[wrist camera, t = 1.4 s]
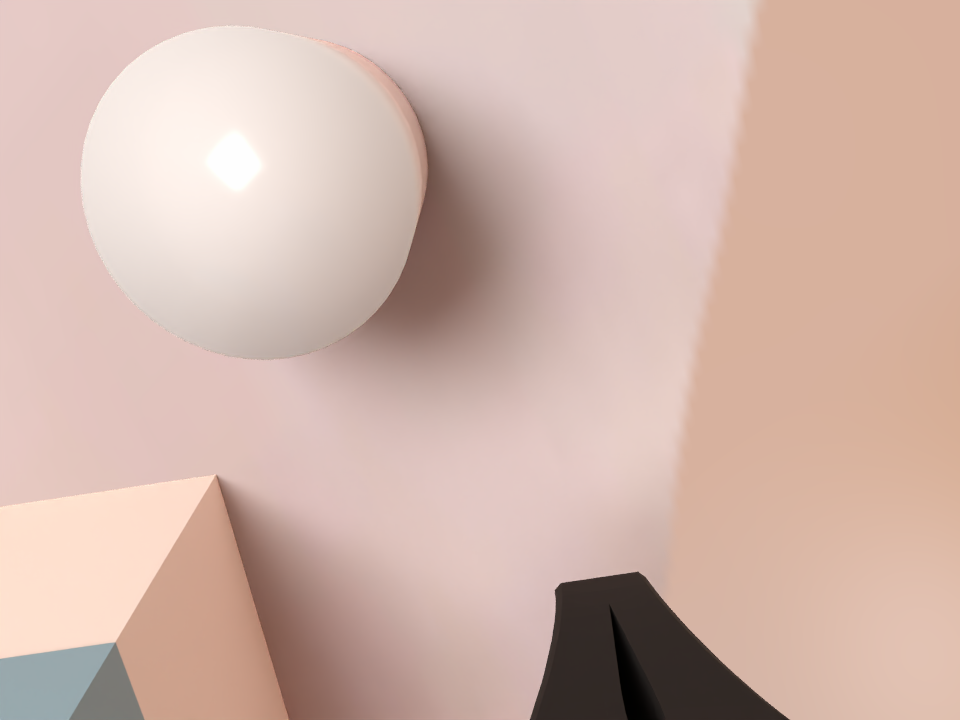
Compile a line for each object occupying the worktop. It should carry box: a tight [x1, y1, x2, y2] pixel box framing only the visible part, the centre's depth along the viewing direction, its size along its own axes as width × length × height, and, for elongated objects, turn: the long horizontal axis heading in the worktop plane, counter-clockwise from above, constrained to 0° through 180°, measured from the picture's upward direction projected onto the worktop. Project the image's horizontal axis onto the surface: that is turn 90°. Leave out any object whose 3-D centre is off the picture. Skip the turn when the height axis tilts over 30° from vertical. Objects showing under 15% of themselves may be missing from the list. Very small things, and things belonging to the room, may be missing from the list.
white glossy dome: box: [81, 25, 428, 360], centre depth 18 cm, size 6×6×6 cm
